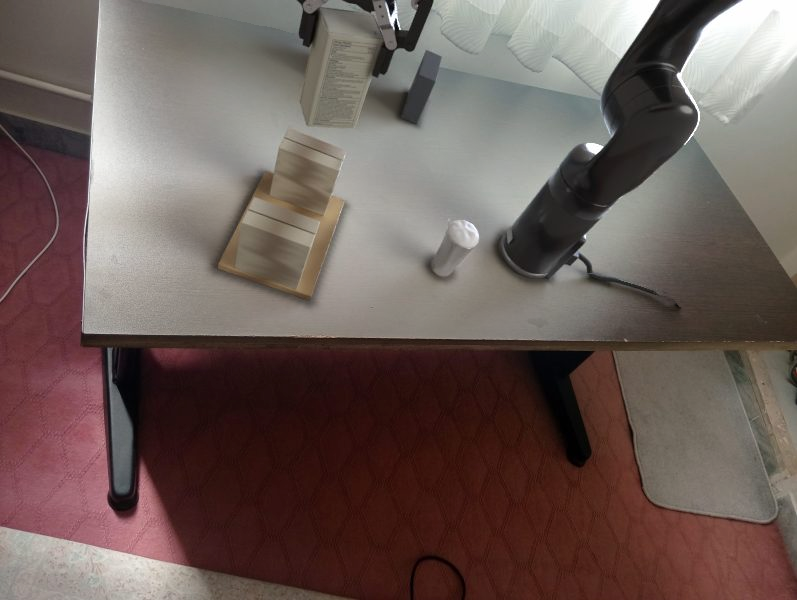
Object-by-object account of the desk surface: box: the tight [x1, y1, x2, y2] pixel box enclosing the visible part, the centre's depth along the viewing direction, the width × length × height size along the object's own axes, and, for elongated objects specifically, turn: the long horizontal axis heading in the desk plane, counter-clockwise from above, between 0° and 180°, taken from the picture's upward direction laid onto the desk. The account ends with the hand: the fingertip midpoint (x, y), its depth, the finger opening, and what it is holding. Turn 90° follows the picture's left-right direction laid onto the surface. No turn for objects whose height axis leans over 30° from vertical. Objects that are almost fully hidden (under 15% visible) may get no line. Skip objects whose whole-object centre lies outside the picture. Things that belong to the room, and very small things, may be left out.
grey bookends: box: [400, 49, 443, 125], centre depth 93 cm, size 19×8×9 cm, turn 79°
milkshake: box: [430, 217, 480, 278], centre depth 75 cm, size 5×5×10 cm
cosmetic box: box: [299, 6, 384, 129], centre depth 60 cm, size 6×4×12 cm
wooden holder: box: [217, 127, 348, 301], centre depth 69 cm, size 12×18×10 cm, turn 169°
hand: (342, 58), depth 58 cm, fingers closed on cosmetic box, 7 cm apart
